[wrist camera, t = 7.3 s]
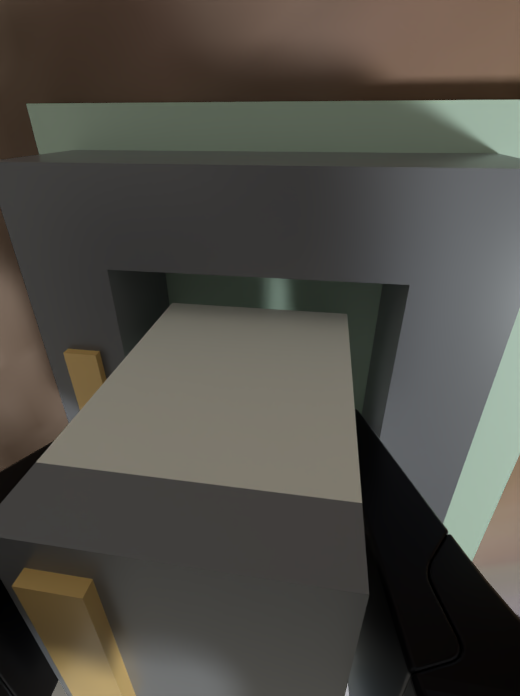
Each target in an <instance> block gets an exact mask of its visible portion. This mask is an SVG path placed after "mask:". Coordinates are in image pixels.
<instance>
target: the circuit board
mask: <svg viewBox="0 0 520 696" xmlns="http://www.w3.org/2000/svg"><path fill="white" fill-rule="evenodd" d="M26 105H27V109H28V113H29V117H30V121H31V125H32V129H33V133H34V137H35V141H36V145H37V149H38V152H39V155H40V154H47V153H55V152H62V151H70V150H140V151H256V152H373V153H489V154H503V155H507V156H512V157H516V158H520V100H404V101H282V102H161V103H39V104H26ZM165 274H166V281H167V289H168V297H169V305H171V304H172V303H183V304H199V305H214V306H230V307H246V308H262V309H277V310H293V311H309V312H325V313H341V314H347V317H348V330H349V342H350V355H351V368H352V381H353V393H354V406H355V409H357V410H358V411H359V412H360V413H361V415H362V410H363V403H364V397H365V391H366V385H367V378H368V372H369V366H370V360H371V354H372V347H373V341H374V335H375V329H376V322H377V316H378V310H379V304H380V298H381V291H382V285H383V284H378V283H359V282H339V281H319V280H300V279H280V278H261V277H241V276H221V275H202V274H182V273H165ZM519 454H520V308H519V311H518V314H517V317H516V320H515V323H514V325H513V328H512V331H511V334H510V337H509V339H508V342H507V345H506V348H505V351H504V354H503V356H502V359H501V362H500V365H499V368H498V370H497V373H496V376H495V379H494V382H493V384H492V387H491V390H490V393H489V396H488V399H487V401H486V404H485V407H484V410H483V413H482V415H481V418H480V421H479V424H478V427H477V430H476V432H475V435H474V438H473V441H472V444H471V446H470V449H469V452H468V455H467V458H466V461H465V463H464V466H463V469H462V472H461V475H460V477H459V480H458V483H457V486H456V489H455V492H454V494H453V497H452V500H451V503H450V506H449V508H448V511H447V514H446V517H445V520H444V523H443V524H444V526H445V527H446V528H447V530H448V534H451V535H452V536H453V538H454V539H455V540H456V542H457V543H458V544H459V546H460V547H461V548H462V550H463V551H464V552H465V554H466V555H467V556H468V557H469V559H470V560H471V561H472V560H473V558H474V556H475V553H476V551H477V549H478V547H479V544H480V542H481V540H482V538H483V535H484V533H485V531H486V529H487V526H488V524H489V522H490V520H491V517H492V515H493V513H494V511H495V508H496V506H497V504H498V502H499V499H500V497H501V495H502V493H503V490H504V488H505V486H506V484H507V481H508V479H509V477H510V475H511V472H512V470H513V468H514V466H515V463H516V461H517V459H518V457H519Z"/></svg>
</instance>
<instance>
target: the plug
mask: <svg viewBox="0 0 520 696" xmlns="http://www.w3.org/2000/svg"><path fill="white" fill-rule="evenodd" d="M0 579H1V580H2V582H3V584H4V586H5V587H6V589H7V591H8V593H9V594H10V596H11V598H12V600H13V601H14V603H15V605H16V607H17V608H18V610H19V612H20V614H21V615H22V617H23V619H24V621H25V622H26V624H27V626H28V628H29V629H30V631H31V633H32V635H33V636H34V638H35V640H36V642H37V643H38V645H39V647H40V649H41V650H42V652H43V654H44V656H45V657H46V659H47V661H48V663H49V664H50V666H51V668H52V670H53V671H54V673H55V675H56V677H57V678H58V680H59V681H60V684H61V685H62V687H63V689H64V690H65V692H66V694H67V696H345V692H346V688H347V684H348V679H349V675H350V671H351V667H352V663H353V659H354V655H355V651H356V647H357V643H358V639H359V635H360V631H361V627H362V622H363V618H364V614H365V610H366V606H367V602H368V598H369V584H368V572H367V559H366V546H365V533H364V521H363V508H362V495H361V482H360V470H359V457H358V444H357V432H356V419H355V406H354V393H353V381H352V368H351V355H350V342H349V330H348V317H347V314H341V313H325V312H309V311H293V310H277V309H262V308H246V307H230V306H214V305H199V304H183V303H172V304H171V305H170V306H169V307H168V308H167V310H166V311H165V312H164V313H163V314H162V315H161V317H160V318H159V319H158V320H157V321H156V322H155V324H154V325H153V326H152V327H151V328H150V329H149V331H148V332H147V333H146V334H145V335H144V336H143V338H142V339H141V340H140V341H139V342H138V343H137V345H136V346H135V347H134V348H133V349H132V350H131V352H130V353H129V354H128V355H127V356H126V357H125V359H124V360H123V361H122V362H121V363H120V364H119V366H118V367H117V368H116V369H115V370H114V371H113V373H112V374H111V375H110V376H109V377H108V378H107V380H106V381H105V382H104V383H103V384H102V385H101V387H100V388H99V389H98V390H97V391H96V393H95V394H94V395H93V396H92V397H91V398H90V400H89V401H88V402H87V403H86V404H85V405H84V407H83V408H82V409H81V410H80V411H79V412H78V414H77V415H76V416H75V417H74V418H73V419H72V421H71V422H70V423H69V424H68V425H67V426H66V428H65V429H64V430H63V431H62V432H61V433H60V435H59V436H58V437H57V438H56V439H55V440H54V442H53V443H52V444H51V445H50V446H49V447H48V449H47V450H46V451H45V452H44V453H43V454H42V456H41V457H40V458H39V459H38V460H37V461H36V463H35V464H34V465H33V466H32V467H31V468H30V470H29V471H28V472H27V473H26V474H25V475H24V477H23V478H22V479H21V480H20V481H19V482H18V484H17V485H16V486H15V487H14V488H13V490H12V491H11V492H10V493H9V494H8V495H7V497H6V498H5V499H4V500H3V501H2V502H1V504H0Z"/></svg>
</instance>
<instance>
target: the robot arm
mask: <svg viewBox="0 0 520 696" xmlns="http://www.w3.org/2000/svg"><path fill="white" fill-rule="evenodd" d="M355 419H356V432H357V444H358V457H359V470H360V482H361V495H362V508H363V521H364V533H365V546H366V559H367V572H368V584H369V598H368V602H367V606H366V610H365V614H364V618H363V622H362V627H361V631H360V635H359V639H358V643H357V647H356V651H355V655H354V659H353V663H352V667H351V671H350V675H349V679H348V687H349V696H520V619H519V617H518V616H517V615H516V614H515V613H514V612H513V611H512V609H511V608H510V607H509V606H508V605H507V604H506V602H505V601H504V600H503V599H502V598H501V597H500V595H499V594H498V593H497V592H496V591H495V590H494V588H493V587H492V586H491V585H490V584H489V583H488V582H487V580H486V579H485V578H484V576H483V575H482V574H481V573H480V571H479V570H478V569H477V568H476V566H475V565H474V564H473V562H472V561H471V560H470V559H469V557H468V556H467V555H466V554H465V552H464V551H463V550H462V548H461V547H460V546H459V544H458V543H457V542H456V540H455V539H454V538H453V536H452V535H451V534H448V530H447V528H446V527H445V526H444V524H443V523H442V522H441V520H440V519H439V518H438V516H437V515H436V514H435V512H434V511H433V510H432V508H431V507H430V506H429V504H428V503H427V502H426V500H425V499H424V498H423V496H422V495H421V494H420V492H419V491H418V490H417V488H416V487H415V486H414V484H413V483H412V482H411V480H410V479H409V478H408V476H407V475H406V474H405V472H404V471H403V470H402V468H401V467H400V466H399V464H398V463H397V462H396V460H395V459H394V458H393V456H392V455H391V454H390V452H389V451H388V450H387V448H386V447H385V446H384V444H383V443H382V442H381V440H380V439H379V438H378V436H377V435H376V434H375V432H374V431H373V430H372V428H371V427H370V425H369V424H368V423H367V421H366V420H365V419H364V417H363V416H362V415H361V413H360V412H359V411H358V410H357V409H355ZM53 442H54V441H53ZM53 442H51V443H49V444H48V445H46V446H44V447H42V448H41V449H39V450H37V451H35V452H34V453H32V454H30V455H28V456H27V457H25V458H23V459H22V460H20V461H18V462H16V463H15V464H13V465H11V466H9V467H8V468H6V469H4V470H2V471H1V472H0V504H1V502H2V501H3V500H4V499H5V498H6V497H7V495H8V494H9V493H10V492H11V491H12V490H13V488H14V487H15V486H16V485H17V484H18V482H19V481H20V480H21V479H22V478H23V477H24V475H25V474H26V473H27V472H28V471H29V470H30V468H31V467H32V466H33V465H34V464H35V463H36V461H37V460H38V459H39V458H40V457H41V456H42V454H43V453H44V452H45V451H46V450H47V449H48V447H49V446H50V445H51V444H52V443H53ZM57 682H58V678H57V677H56V675H55V673H54V671H53V670H52V668H51V666H50V664H49V663H48V661H47V659H46V657H45V656H44V654H43V652H42V650H41V649H40V647H39V645H38V643H37V642H36V640H35V638H34V636H33V635H32V633H31V631H30V629H29V628H28V626H27V624H26V622H25V621H24V619H23V617H22V615H21V614H20V612H19V610H18V608H17V607H16V605H15V603H14V601H13V600H12V598H11V596H10V594H9V593H8V591H7V589H6V587H5V586H4V584H3V582H2V580H1V579H0V696H51V695H52V693H53V691H54V689H55V687H56V684H57Z"/></svg>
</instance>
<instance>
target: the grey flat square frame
mask: <svg viewBox="0 0 520 696" xmlns="http://www.w3.org/2000/svg"><path fill="white" fill-rule="evenodd" d="M0 207H1V211H2V214H3V217H4V220H5V223H6V226H7V230H8V233H9V236H10V239H11V242H12V245H13V248H14V252H15V255H16V258H17V261H18V264H19V267H20V270H21V274H22V277H23V280H24V283H25V286H26V289H27V293H28V296H29V299H30V302H31V305H32V308H33V311H34V315H35V318H36V321H37V324H38V327H39V330H40V334H41V337H42V340H43V343H44V346H45V349H46V352H47V356H48V359H49V362H50V365H51V368H52V371H53V375H54V378H55V381H56V384H57V387H58V390H59V393H60V397H61V400H62V403H63V406H64V409H65V412H66V416H67V419H68V422H69V423H70V422H71V421H72V419H73V418H74V417H75V416H76V415H77V414H78V412H79V411H80V410H81V409H82V408H83V407H84V405H85V404H86V403H87V402H88V401H89V400H90V398H91V397H92V396H93V395H94V394H95V393H96V391H97V390H98V389H99V388H100V387H101V385H102V384H103V383H104V382H105V381H106V380H107V378H108V377H109V376H110V375H111V374H112V373H113V371H114V370H115V369H116V368H117V367H118V366H119V364H120V363H121V362H122V361H123V360H124V359H125V357H126V356H127V355H128V354H129V353H130V352H131V350H132V349H133V348H134V347H135V346H136V345H137V343H138V342H139V341H140V340H141V339H142V338H143V336H144V335H145V334H146V333H147V332H148V331H149V329H150V328H151V327H152V326H153V325H154V324H155V322H156V321H157V320H158V319H159V318H160V317H161V315H162V314H163V313H164V312H165V311H166V310H167V308H168V307H169V306H170V305H169V297H168V289H167V281H166V274H165V273H182V274H202V275H221V276H241V277H261V278H280V279H300V280H319V281H339V282H359V283H378V284H383V285H382V291H381V298H380V304H379V310H378V316H377V322H376V329H375V335H374V341H373V347H372V354H371V360H370V366H369V372H368V378H367V385H366V391H365V397H364V403H363V410H362V416H363V417H364V419H365V420H366V421H367V423H368V424H369V425H370V427H371V428H372V430H373V431H374V432H375V434H376V435H377V436H378V438H379V439H380V440H381V442H382V443H383V444H384V446H385V447H386V448H387V450H388V451H389V452H390V454H391V455H392V456H393V458H394V459H395V460H396V462H397V463H398V464H399V466H400V467H401V468H402V470H403V471H404V472H405V474H406V475H407V476H408V478H409V479H410V480H411V482H412V483H413V484H414V486H415V487H416V488H417V490H418V491H419V492H420V494H421V495H422V496H423V498H424V499H425V500H426V502H427V503H428V504H429V506H430V507H431V508H432V510H433V511H434V512H435V514H436V515H437V516H438V518H439V519H440V520H441V522H442V523H444V520H445V517H446V514H447V511H448V508H449V506H450V503H451V500H452V497H453V494H454V492H455V489H456V486H457V483H458V480H459V477H460V475H461V472H462V469H463V466H464V463H465V461H466V458H467V455H468V452H469V449H470V446H471V444H472V441H473V438H474V435H475V432H476V430H477V427H478V424H479V421H480V418H481V415H482V413H483V410H484V407H485V404H486V401H487V399H488V396H489V393H490V390H491V387H492V384H493V382H494V379H495V376H496V373H497V370H498V368H499V365H500V362H501V359H502V356H503V354H504V351H505V348H506V345H507V342H508V339H509V337H510V334H511V331H512V328H513V325H514V323H515V320H516V317H517V314H518V311H519V308H520V158H516V157H512V156H507V155H503V154H489V153H373V152H256V151H140V150H70V151H62V152H55V153H47V154H40V155H32V156H25V157H17V158H10V159H2V160H0Z"/></svg>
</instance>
